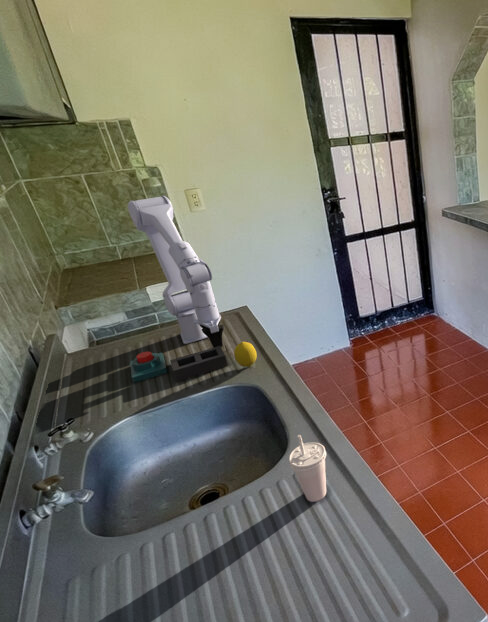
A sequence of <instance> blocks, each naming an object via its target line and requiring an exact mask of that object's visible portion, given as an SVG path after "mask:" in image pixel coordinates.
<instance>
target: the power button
mask: <svg viewBox="0 0 488 622" xmlns="http://www.w3.org/2000/svg"><path fill="white" fill-rule="evenodd" d="M152 353H153V352H152V351H142V352H140V353H138V354H137V355H136V356H135V358H137V360H138V362H139V363H144V362H148V361H150V360H152V359H153V356H152Z"/></svg>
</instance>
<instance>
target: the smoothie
mask: <svg viewBox="0 0 488 622" xmlns="http://www.w3.org/2000/svg"><path fill="white" fill-rule="evenodd" d="M297 440H298V444H299V445H298V446H297V447H295V448H294V449H293V450H292V451H291V452H290V453H289V456H288V463H289V466H290V468H291V469H292V470H293V471H294V474H295V476H296V478H297V481H298V483H299V484H300V487H301V490H302V492H303V494H304V496H305V499H306V500H307V501H308V502H312V503H315V502H320V501H321V500H322V499H324V498H325V496H326V495H327V478H326V476H327V475H326V457H327V451H326V448H325V446H324V445H323V444H321V443H319V442H312V441H311V442H306V443H304V442H303V438H302V435H301V434H298V435H297Z"/></svg>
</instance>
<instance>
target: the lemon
mask: <svg viewBox="0 0 488 622" xmlns="http://www.w3.org/2000/svg"><path fill="white" fill-rule="evenodd" d="M233 354H234V359H235V362H236V363H237V364H238V365H239V366H241V367H246V368H250V367H251V366H252V365H254V364H255V363H256V360H257V357H258V355H257V350H256V348H255V347H254V345H253V344H252V343H250V342H247V341H240V343H238V344H237V345H236V346H235V348H234V351H233Z"/></svg>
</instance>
